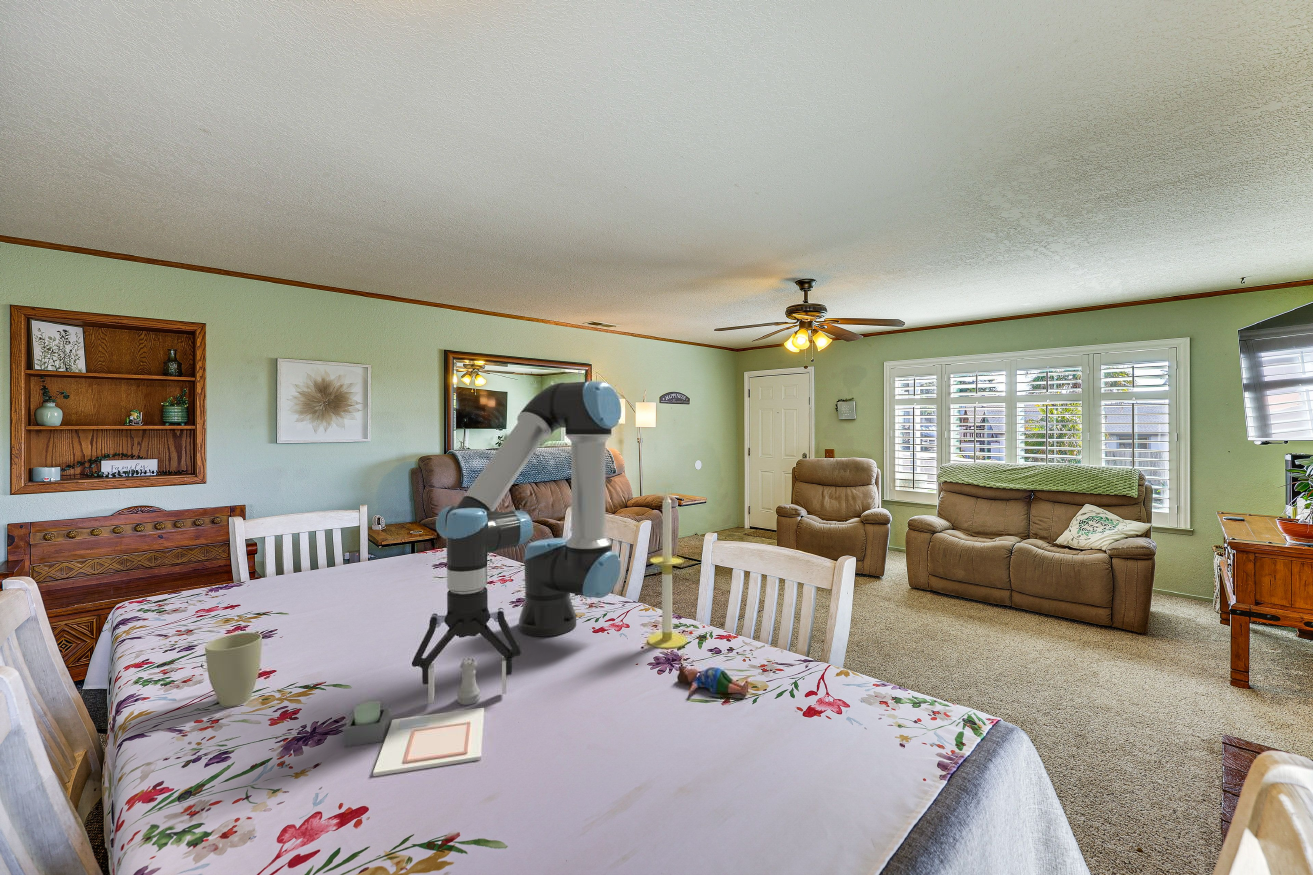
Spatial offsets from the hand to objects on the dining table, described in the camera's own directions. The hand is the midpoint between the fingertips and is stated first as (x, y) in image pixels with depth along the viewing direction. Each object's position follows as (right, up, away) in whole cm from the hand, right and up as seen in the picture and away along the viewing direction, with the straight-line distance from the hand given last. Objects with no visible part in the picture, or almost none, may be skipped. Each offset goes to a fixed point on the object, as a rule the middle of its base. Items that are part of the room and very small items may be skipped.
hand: (468, 695), depth 111 cm
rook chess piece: (0, -1, 0) cm, 1 cm away
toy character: (+48, -1, +5) cm, 49 cm away
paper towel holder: (+40, 0, +30) cm, 50 cm away
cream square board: (-1, -2, -14) cm, 14 cm away
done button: (-14, 0, -12) cm, 18 cm away
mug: (-47, -1, +1) cm, 47 cm away
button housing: (-14, -2, -12) cm, 18 cm away
